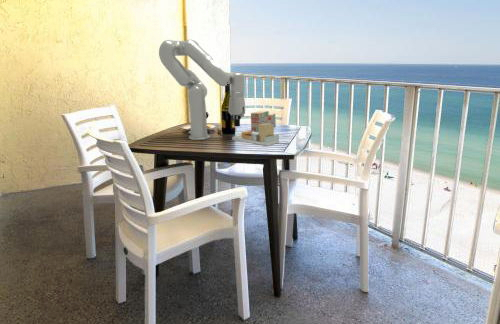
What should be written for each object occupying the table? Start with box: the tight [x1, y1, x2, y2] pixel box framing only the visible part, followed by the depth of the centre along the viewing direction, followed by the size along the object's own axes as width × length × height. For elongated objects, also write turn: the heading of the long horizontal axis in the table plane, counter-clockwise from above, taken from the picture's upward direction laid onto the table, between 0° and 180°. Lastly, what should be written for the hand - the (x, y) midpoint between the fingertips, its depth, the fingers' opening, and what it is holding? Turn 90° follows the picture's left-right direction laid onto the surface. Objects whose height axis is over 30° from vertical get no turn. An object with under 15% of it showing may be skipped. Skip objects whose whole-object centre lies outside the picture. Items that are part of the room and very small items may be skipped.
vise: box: [231, 134, 280, 147], centre depth 213 cm, size 27×10×4 cm, turn 46°
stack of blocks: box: [250, 110, 277, 133], centre depth 250 cm, size 21×6×12 cm, turn 147°
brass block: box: [257, 123, 275, 142], centre depth 206 cm, size 5×7×9 cm
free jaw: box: [241, 130, 259, 141], centre depth 213 cm, size 13×10×3 cm
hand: (237, 126), depth 222 cm, fingers closed
